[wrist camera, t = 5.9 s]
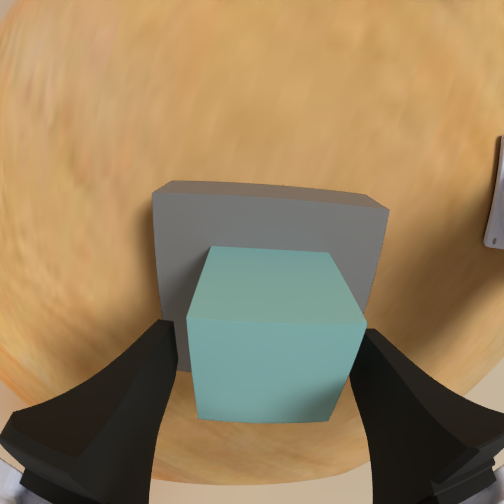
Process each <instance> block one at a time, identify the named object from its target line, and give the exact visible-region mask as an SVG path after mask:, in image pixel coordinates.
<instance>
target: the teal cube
mask: <svg viewBox="0 0 504 504" xmlns="http://www.w3.org/2000/svg"><path fill="white" fill-rule="evenodd" d="M186 319H187V331H188V341H189V351H190V360H191V368H192V377H193V384H194V392H195V399H196V406H197V413H198V419H203V420H214V421H226V422H242V423H308V422H325V421H328V420H329V418H330V416H331V414H332V412H333V410H334V408H335V405H336V403H337V401H338V399H339V397H340V394H341V392H342V390H343V387H344V385H345V383H346V380H347V378H348V375H349V373H350V370H351V368H352V365H353V363H354V360H355V358H356V355H357V352H358V350H359V347H360V344H361V341H362V339H363V336H364V333H365V330H366V327H367V324H368V323H367V321H366V319H365V317H364V316H363V314H362V312H361V310H360V308H359V306H358V304H357V302H356V300H355V299H354V297H353V295H352V293H351V291H350V289H349V287H348V286H347V284H346V282H345V280H344V278H343V277H342V275H341V273H340V271H339V269H338V268H337V266H336V264H335V262H334V261H333V259H332V257H331V255H330V254H329V253H326V252H309V251H292V250H274V249H256V248H239V247H221V246H211V248H210V251H209V254H208V256H207V259H206V262H205V265H204V268H203V270H202V273H201V276H200V279H199V282H198V285H197V288H196V290H195V293H194V296H193V299H192V302H191V305H190V308H189V311H188V314H187V317H186Z"/></svg>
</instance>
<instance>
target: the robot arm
mask: <svg viewBox="0 0 504 504" xmlns="http://www.w3.org/2000/svg"><path fill="white" fill-rule="evenodd" d="M484 245H485V246H487V247H490V248H497V249H504V135H503V136H502V138H501V148H500V158H499V166H498V173H497V180H496V186H495V192H494V197H493V202H492V207H491V212H490V216H489V220H488V224H487V228H486V232H485V236H484ZM178 360H179V359H178V352H177V344H176V336H175V328H174V321H169V320H160V319H158V320H157V321H156V322H155V323H154V324H153V325H152V326H151V327H150V328H149V329H148V330H147V331H146V332H145V333H144V334H143V335H142V336H141V337H139V338H138V339H137V340H136V341H135V342H134V343H133V344H132V345H131V346H130V347H129V348H128V349H127V350H126V351H124V352H123V353H122V354H121V355H120V356H119V357H117V358H116V359H115V360H114V361H113V362H111V363H110V364H109V365H108V366H107V367H105V368H104V369H103V370H101V371H100V372H99V373H97V374H96V375H94V376H93V377H91V378H90V379H88V380H87V381H85V382H84V383H82V384H80V385H78V386H76V387H75V388H73V389H71V390H69V391H67V392H66V393H64V394H62V395H59V396H57V397H55V398H53V399H50V400H48V401H46V402H43V403H41V404H38V405H35V406H32V407H29V408H26V409H22V410H19V411H15V412H13V414H12V415H11V416H10V418H9V420H8V422H7V423H6V425H5V427H4V429H3V431H2V433H1V434H0V444H1V445H2V446H3V447H4V449H5V450H6V451H7V452H8V453H10V454H11V455H12V456H13V457H14V458H15V459H16V460H17V461H18V462H19V463H20V464H21V465H23V466H24V467H25V471H24V473H22V472H20V471H19V470H18V469H16V468H15V467H13V466H12V465H10V464H8V463H7V462H6V461H4V460H3V459H1V458H0V504H149V491H150V481H151V472H152V465H153V458H154V452H155V446H156V441H157V435H158V431H159V428H160V424H161V421H162V418H163V415H164V412H165V409H166V406H167V403H168V399H169V396H170V393H171V390H172V387H173V384H174V381H175V376H176V370H177V365H178ZM349 376H350V382H351V387H352V390H353V393H354V396H355V400H356V403H357V406H358V409H359V412H360V415H361V418H362V422H363V425H364V428H365V432H366V436H367V440H368V447H369V453H370V461H371V470H372V483H373V484H372V485H373V504H504V465H502V466H501V467H499V468H498V469H496V470H495V471H494V472H493V470H492V466H494V465H495V461H494V458H493V457H494V456H495V455H497V454H498V453H499V452H500V451H501V450H502V449H503V448H504V413H501V412H498V411H494V410H491V409H488V408H485V407H483V406H481V405H478V404H476V403H474V402H471V401H469V400H467V399H465V398H464V397H462V396H460V395H458V394H456V393H454V392H453V391H451V390H449V389H448V388H446V387H445V386H443V385H442V384H440V383H439V382H437V381H436V380H434V379H433V378H432V377H430V376H429V375H428V374H426V373H425V372H424V371H423V370H421V369H420V368H419V367H418V366H416V365H415V364H414V363H413V362H412V361H411V360H409V359H408V358H407V357H406V356H405V355H404V354H403V353H401V352H400V351H399V350H398V349H397V348H396V347H395V346H394V345H393V344H392V343H391V342H389V341H388V340H387V339H386V338H385V337H384V336H383V335H382V334H380V333H379V332H378V331H377V330H376V329H366V330H365V333H364V336H363V339H362V341H361V344H360V347H359V350H358V352H357V355H356V358H355V360H354V363H353V365H352V368H351V370H350V373H349Z"/></svg>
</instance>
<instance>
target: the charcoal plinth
mask: <svg viewBox="0 0 504 504" xmlns="http://www.w3.org/2000/svg"><path fill="white" fill-rule="evenodd" d="M152 207H153V228H154V243H155V256H156V268H157V278H158V288H159V297H160V305H161V313H162V320H169V321H174V328H175V336H176V344H177V352H178V359H179V360H178V365H177V370H178V371H186V372H192V368H191V360H190V351H189V341H188V331H187V319H186V317H187V314H188V311H189V308H190V305H191V302H192V299H193V296H194V293H195V290H196V288H197V285H198V282H199V279H200V276H201V273H202V270H203V268H204V265H205V262H206V259H207V256H208V254H209V251H210V248H211V246H221V247H239V248H256V249H274V250H292V251H309V252H326V253H329V254H330V255H331V257H332V259H333V261H334V262H335V264H336V266H337V268H338V269H339V271H340V273H341V275H342V277H343V278H344V280H345V282H346V284H347V286H348V287H349V289H350V291H351V293H352V295H353V297H354V299H355V300H356V302H357V304H358V306H359V308H360V310H361V312H362V314H364V311H365V308H366V305H367V301H368V298H369V294H370V291H371V287H372V284H373V280H374V276H375V273H376V269H377V265H378V261H379V257H380V253H381V248H382V244H383V240H384V235H385V230H386V225H387V221H388V215H389V209H387V208H386V207H384V206H383V205H381V204H380V203H378V202H376V201H375V200H373V199H372V198H370V197H368V196H367V195H364V194H357V193H349V192H340V191H331V190H322V189H312V188H302V187H291V186H278V185H265V184H249V183H231V182H206V181H171V182H169V183H167V184H166V185H164V186H162V187H161V188H159V189H158V190H156V191H154V192H153V193H152Z"/></svg>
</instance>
